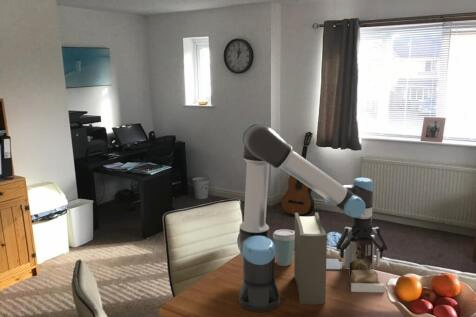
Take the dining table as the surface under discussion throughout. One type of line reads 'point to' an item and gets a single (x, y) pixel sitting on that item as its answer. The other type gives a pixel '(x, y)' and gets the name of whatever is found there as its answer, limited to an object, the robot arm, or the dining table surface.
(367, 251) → the coffee box
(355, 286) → the rack
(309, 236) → the book
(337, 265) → the mat
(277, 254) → the disposable coffee cup
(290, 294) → the dining table surface
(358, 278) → the offcut upper
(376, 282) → the offcut lower
